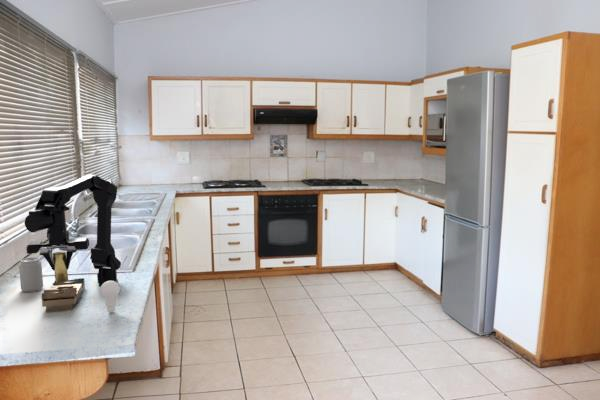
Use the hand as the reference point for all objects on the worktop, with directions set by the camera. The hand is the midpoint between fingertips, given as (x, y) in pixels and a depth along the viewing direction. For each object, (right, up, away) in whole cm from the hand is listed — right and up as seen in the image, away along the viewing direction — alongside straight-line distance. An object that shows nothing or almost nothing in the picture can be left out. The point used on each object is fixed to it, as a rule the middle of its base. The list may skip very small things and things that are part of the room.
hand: (60, 269), depth 171 cm
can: (-19, -10, +17) cm, 27 cm away
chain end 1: (-1, -12, +3) cm, 13 cm away
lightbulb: (+19, -14, -5) cm, 24 cm away
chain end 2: (-2, -11, +9) cm, 15 cm away
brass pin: (0, -4, +1) cm, 4 cm away
